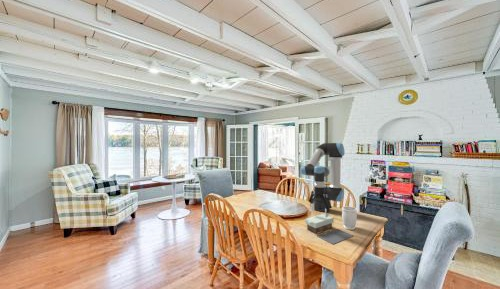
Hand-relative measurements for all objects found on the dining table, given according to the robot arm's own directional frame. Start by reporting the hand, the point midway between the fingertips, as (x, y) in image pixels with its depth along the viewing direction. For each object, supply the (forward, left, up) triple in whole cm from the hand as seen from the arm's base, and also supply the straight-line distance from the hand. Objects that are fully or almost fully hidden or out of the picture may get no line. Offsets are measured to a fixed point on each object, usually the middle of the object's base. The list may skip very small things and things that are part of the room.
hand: (319, 214), depth 156 cm
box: (0, 0, -12) cm, 12 cm away
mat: (0, +14, -12) cm, 18 cm away
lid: (0, 0, -7) cm, 7 cm away
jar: (-21, +10, -12) cm, 26 cm away
